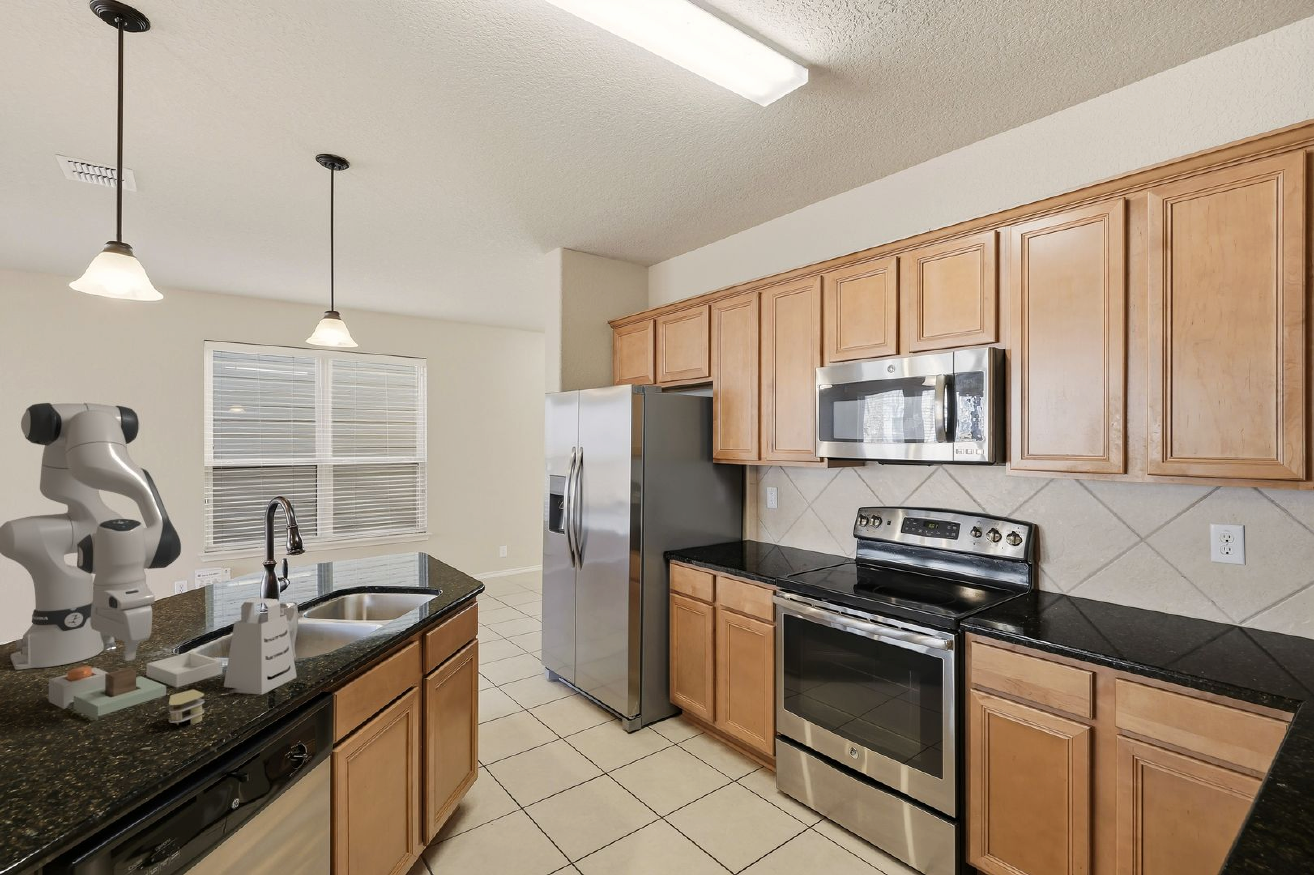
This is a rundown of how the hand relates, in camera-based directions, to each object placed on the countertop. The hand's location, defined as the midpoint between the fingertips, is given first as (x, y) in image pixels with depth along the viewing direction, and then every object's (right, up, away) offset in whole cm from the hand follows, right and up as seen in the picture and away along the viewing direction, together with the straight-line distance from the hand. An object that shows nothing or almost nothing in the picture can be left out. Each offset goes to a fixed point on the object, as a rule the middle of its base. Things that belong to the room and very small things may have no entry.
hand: (119, 655), depth 135 cm
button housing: (-11, -11, +3) cm, 16 cm away
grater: (+25, -11, +11) cm, 29 cm away
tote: (+4, -11, +14) cm, 18 cm away
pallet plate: (+1, -11, 0) cm, 11 cm away
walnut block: (+1, -10, 0) cm, 10 cm away
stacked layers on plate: (+22, -11, -9) cm, 26 cm away
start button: (-11, -7, +3) cm, 14 cm away
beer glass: (+21, -11, +25) cm, 35 cm away
